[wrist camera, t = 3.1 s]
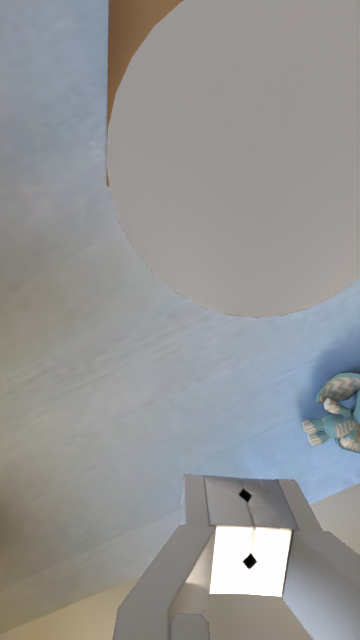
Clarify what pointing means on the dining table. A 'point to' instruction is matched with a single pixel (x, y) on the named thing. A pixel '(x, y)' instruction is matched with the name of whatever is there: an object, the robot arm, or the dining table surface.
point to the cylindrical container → (243, 153)
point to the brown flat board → (129, 36)
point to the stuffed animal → (337, 413)
